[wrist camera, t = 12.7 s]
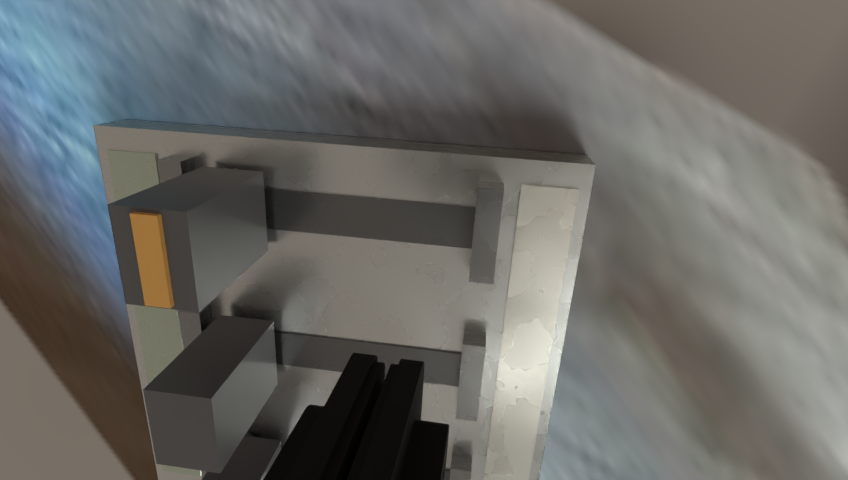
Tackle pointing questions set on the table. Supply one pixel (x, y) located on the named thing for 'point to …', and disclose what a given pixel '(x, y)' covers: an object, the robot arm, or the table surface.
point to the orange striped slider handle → (189, 237)
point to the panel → (386, 274)
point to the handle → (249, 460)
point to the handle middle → (212, 393)
